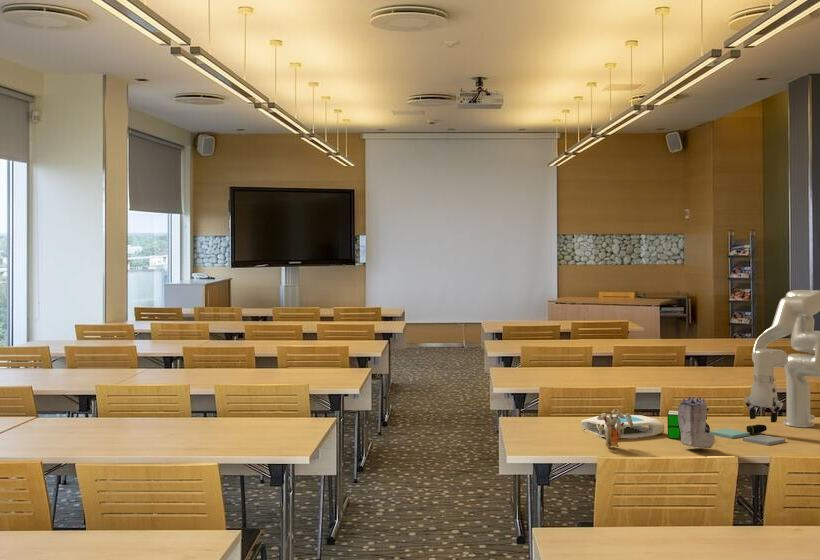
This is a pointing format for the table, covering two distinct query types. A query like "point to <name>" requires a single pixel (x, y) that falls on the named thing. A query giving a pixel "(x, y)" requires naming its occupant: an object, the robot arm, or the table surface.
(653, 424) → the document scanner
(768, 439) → the slate board
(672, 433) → the puzzle cube
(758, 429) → the tape measure
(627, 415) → the voxel character
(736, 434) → the teal board
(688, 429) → the cell model
